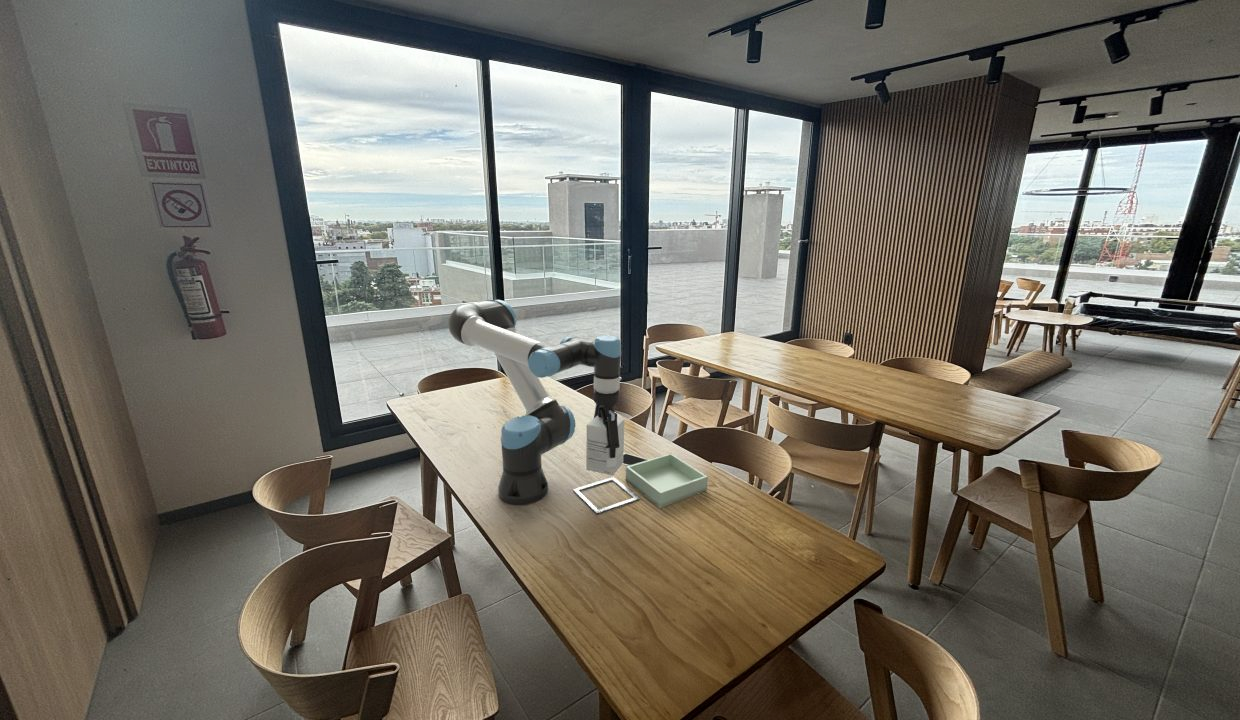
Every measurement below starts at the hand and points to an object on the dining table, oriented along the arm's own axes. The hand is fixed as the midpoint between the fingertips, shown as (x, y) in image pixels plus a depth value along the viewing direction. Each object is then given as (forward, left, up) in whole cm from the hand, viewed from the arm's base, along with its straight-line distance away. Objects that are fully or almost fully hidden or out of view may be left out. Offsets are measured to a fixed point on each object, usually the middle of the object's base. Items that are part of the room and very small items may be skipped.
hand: (605, 456), depth 149 cm
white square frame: (0, 0, -13) cm, 13 cm away
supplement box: (0, 0, -4) cm, 4 cm away
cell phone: (+20, +13, -14) cm, 28 cm away
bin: (+20, -5, -13) cm, 24 cm away
